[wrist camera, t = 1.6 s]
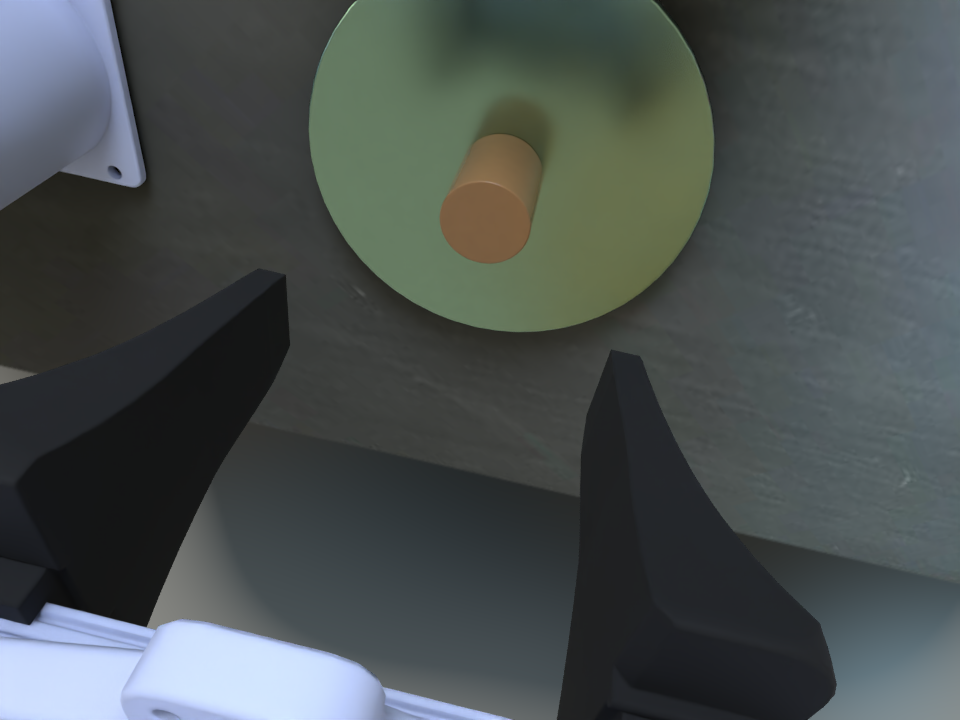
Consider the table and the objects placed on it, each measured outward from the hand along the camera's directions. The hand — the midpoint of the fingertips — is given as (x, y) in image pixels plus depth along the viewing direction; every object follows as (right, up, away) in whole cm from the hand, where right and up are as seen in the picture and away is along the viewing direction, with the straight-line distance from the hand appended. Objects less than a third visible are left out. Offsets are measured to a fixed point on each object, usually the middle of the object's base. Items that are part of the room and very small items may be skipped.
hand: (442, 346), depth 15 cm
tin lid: (+2, +6, +7) cm, 9 cm away
